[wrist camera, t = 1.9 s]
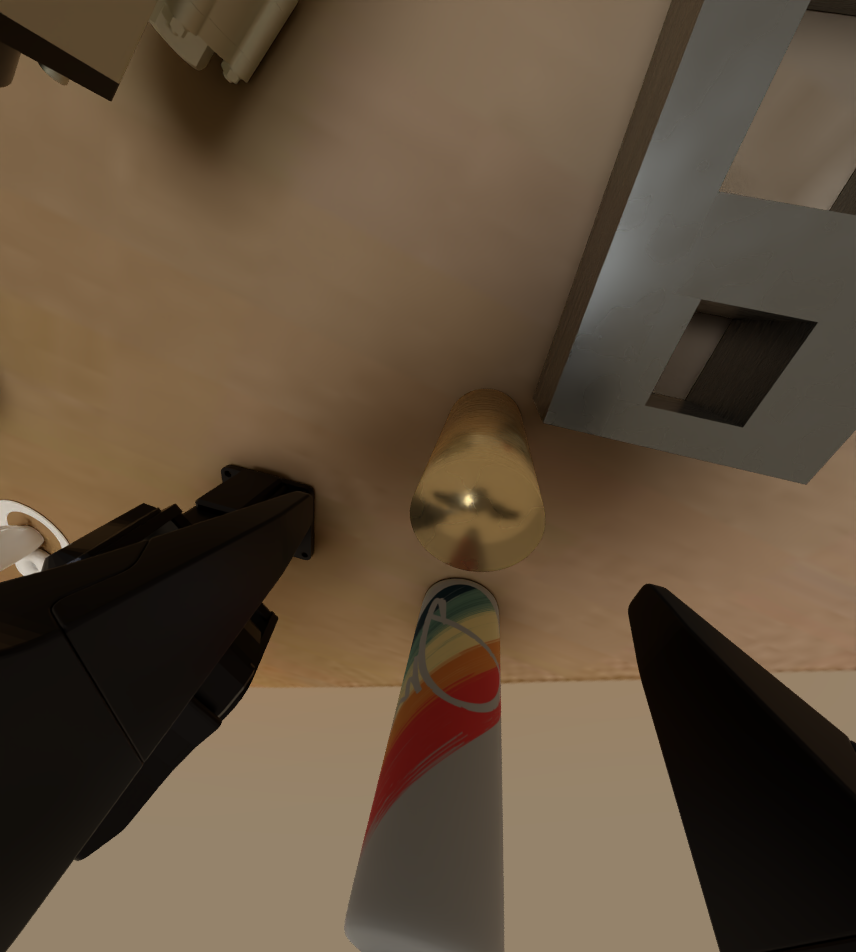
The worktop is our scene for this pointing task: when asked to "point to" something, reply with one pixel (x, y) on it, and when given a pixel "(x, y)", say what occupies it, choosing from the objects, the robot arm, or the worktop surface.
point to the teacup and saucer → (23, 540)
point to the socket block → (711, 269)
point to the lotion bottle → (439, 791)
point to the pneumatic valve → (135, 36)
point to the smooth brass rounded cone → (480, 488)
